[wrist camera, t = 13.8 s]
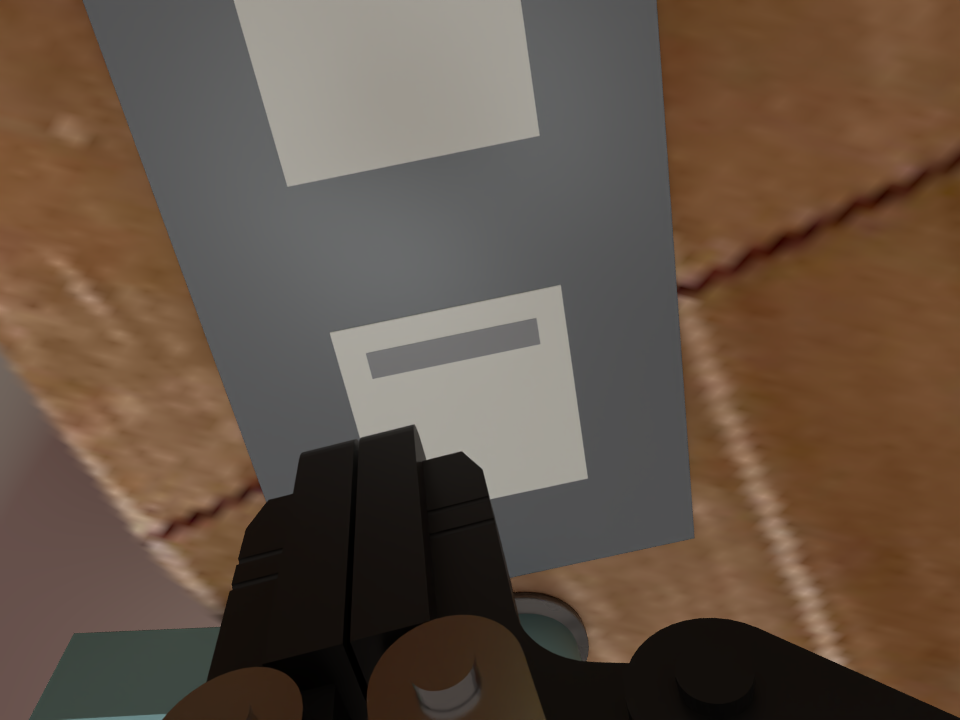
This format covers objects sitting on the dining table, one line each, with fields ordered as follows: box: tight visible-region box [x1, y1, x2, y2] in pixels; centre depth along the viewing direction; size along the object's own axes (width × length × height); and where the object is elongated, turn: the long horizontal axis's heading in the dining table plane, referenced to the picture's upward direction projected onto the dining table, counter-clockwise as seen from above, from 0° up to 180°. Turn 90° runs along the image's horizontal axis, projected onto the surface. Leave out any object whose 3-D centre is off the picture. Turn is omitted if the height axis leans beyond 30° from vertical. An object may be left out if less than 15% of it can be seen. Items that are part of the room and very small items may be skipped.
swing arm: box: [29, 614, 582, 720], centre depth 29 cm, size 5×20×4 cm, turn 88°
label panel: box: [83, 0, 694, 578], centre depth 25 cm, size 16×28×1 cm, turn 10°
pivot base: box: [514, 592, 589, 661], centre depth 32 cm, size 6×6×1 cm
